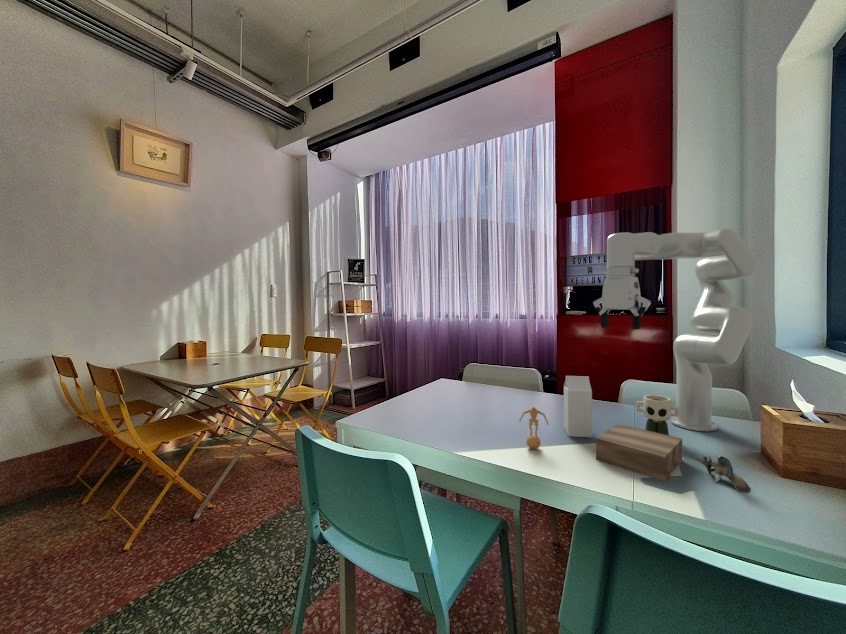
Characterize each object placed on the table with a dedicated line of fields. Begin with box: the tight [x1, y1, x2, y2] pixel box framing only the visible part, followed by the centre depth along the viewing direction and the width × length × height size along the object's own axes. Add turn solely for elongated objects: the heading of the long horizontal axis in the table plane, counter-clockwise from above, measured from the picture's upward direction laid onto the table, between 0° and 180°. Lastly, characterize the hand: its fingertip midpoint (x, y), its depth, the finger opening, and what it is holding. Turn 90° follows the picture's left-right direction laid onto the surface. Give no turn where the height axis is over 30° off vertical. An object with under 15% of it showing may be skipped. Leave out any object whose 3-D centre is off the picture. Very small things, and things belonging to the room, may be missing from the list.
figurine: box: [519, 406, 549, 450], centre depth 103 cm, size 8×6×12 cm
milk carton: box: [563, 375, 593, 438], centre depth 113 cm, size 7×7×19 cm
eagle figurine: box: [694, 454, 751, 494], centre depth 81 cm, size 8×7×9 cm
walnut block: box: [595, 423, 683, 482], centre depth 93 cm, size 16×16×6 cm
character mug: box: [636, 394, 679, 436], centre depth 107 cm, size 11×7×13 cm, turn 53°
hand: (620, 328), depth 107 cm, fingers open, 9 cm apart
